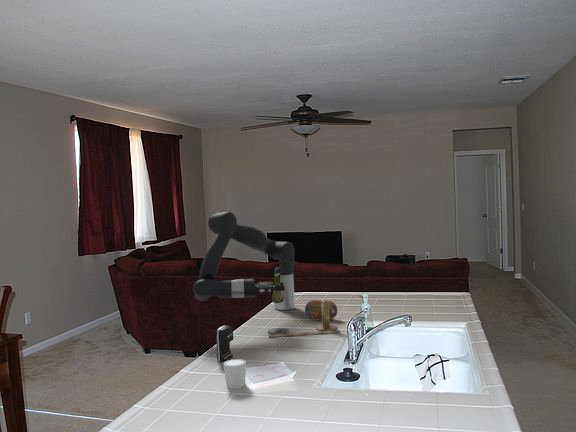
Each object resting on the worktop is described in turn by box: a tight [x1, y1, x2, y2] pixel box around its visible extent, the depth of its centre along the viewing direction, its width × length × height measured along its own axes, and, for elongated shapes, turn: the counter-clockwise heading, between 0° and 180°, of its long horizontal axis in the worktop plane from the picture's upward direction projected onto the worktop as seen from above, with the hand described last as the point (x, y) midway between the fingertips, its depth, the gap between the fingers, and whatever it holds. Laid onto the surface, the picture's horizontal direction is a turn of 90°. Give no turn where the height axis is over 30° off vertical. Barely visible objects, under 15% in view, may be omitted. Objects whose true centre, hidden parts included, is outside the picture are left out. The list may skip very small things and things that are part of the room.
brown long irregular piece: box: [267, 299, 341, 339], centre depth 212 cm, size 29×12×12 cm, turn 95°
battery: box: [215, 325, 234, 362], centre depth 180 cm, size 7×4×11 cm, turn 158°
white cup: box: [223, 358, 247, 390], centre depth 156 cm, size 7×7×7 cm
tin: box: [304, 300, 338, 321], centre depth 231 cm, size 15×3×8 cm, turn 62°
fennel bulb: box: [271, 273, 284, 304], centre depth 212 cm, size 6×5×12 cm
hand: (283, 286), depth 213 cm, fingers closed on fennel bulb, 6 cm apart
